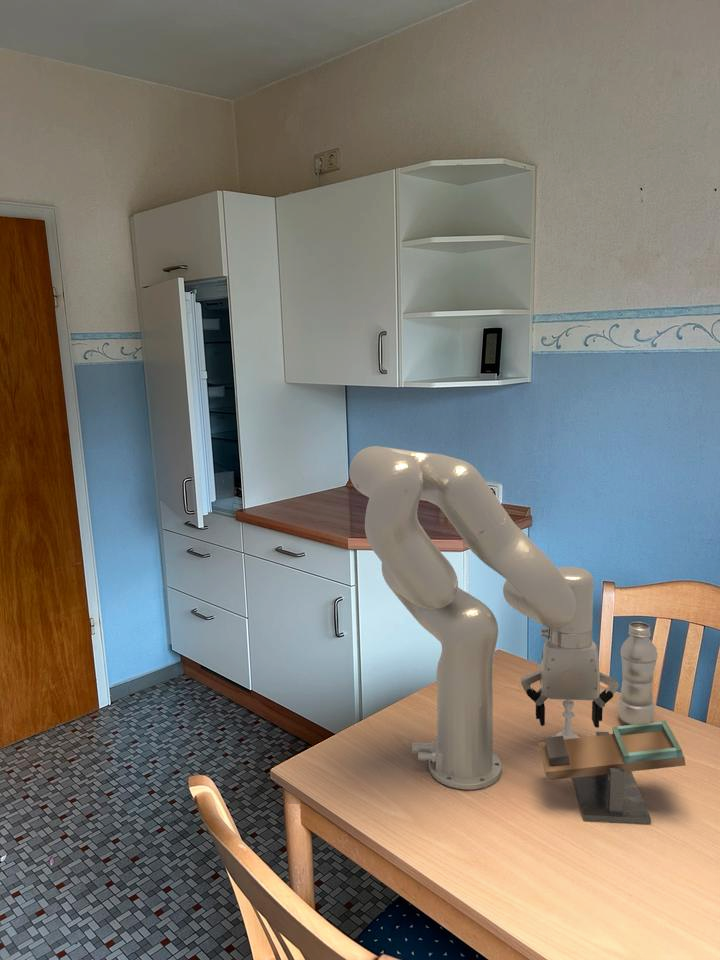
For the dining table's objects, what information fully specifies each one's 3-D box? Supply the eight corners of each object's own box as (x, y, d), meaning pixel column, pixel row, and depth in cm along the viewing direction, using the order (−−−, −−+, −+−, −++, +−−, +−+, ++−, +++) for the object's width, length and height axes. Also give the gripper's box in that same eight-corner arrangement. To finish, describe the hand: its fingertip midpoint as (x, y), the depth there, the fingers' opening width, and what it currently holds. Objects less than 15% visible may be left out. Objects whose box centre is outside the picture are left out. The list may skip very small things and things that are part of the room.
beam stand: (583, 820, 112) (584, 773, 110) (570, 771, 124) (571, 728, 123) (650, 824, 110) (652, 776, 109) (630, 774, 123) (632, 730, 122)
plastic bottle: (622, 710, 144) (626, 616, 140) (658, 720, 140) (662, 623, 136) (612, 725, 139) (616, 627, 135) (649, 735, 135) (653, 634, 131)
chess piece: (582, 750, 131) (584, 699, 129) (554, 748, 132) (555, 698, 130) (580, 736, 135) (581, 687, 133) (553, 734, 136) (554, 685, 134)
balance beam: (548, 786, 114) (543, 764, 113) (541, 754, 122) (537, 733, 122) (686, 771, 110) (683, 748, 110) (669, 739, 119) (666, 718, 118)
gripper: (523, 643, 127) (522, 732, 130) (624, 645, 125) (621, 735, 128) (519, 627, 134) (518, 711, 138) (615, 628, 132) (612, 714, 135)
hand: (568, 722), depth 133 cm, fingers open, 9 cm apart
